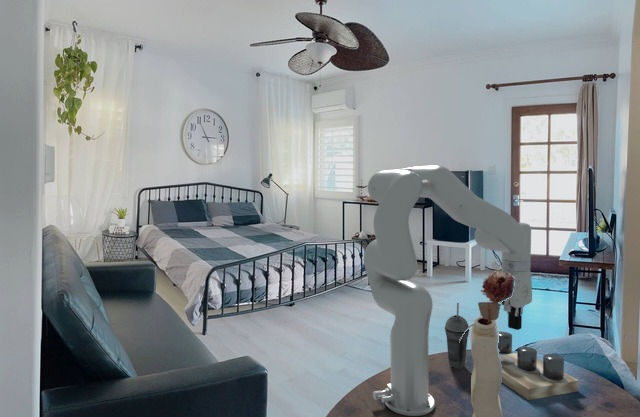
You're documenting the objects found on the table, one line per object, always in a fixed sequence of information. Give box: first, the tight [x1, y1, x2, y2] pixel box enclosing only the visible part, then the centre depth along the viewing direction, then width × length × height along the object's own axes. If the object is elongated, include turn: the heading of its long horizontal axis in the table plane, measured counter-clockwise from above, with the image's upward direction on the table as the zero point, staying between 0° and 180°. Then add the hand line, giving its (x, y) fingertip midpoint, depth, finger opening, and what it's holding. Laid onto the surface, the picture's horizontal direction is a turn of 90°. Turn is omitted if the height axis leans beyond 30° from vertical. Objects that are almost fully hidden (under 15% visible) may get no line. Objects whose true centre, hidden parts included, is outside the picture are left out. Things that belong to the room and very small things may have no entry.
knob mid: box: [516, 346, 538, 371], centre depth 124 cm, size 5×5×5 cm
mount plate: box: [500, 352, 579, 401], centre depth 124 cm, size 16×20×3 cm
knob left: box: [498, 331, 513, 355], centre depth 129 cm, size 5×5×5 cm
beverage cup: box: [444, 302, 470, 369], centre depth 133 cm, size 7×7×20 cm
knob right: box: [542, 353, 565, 380], centre depth 118 cm, size 5×5×5 cm
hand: (514, 328), depth 126 cm, fingers closed
